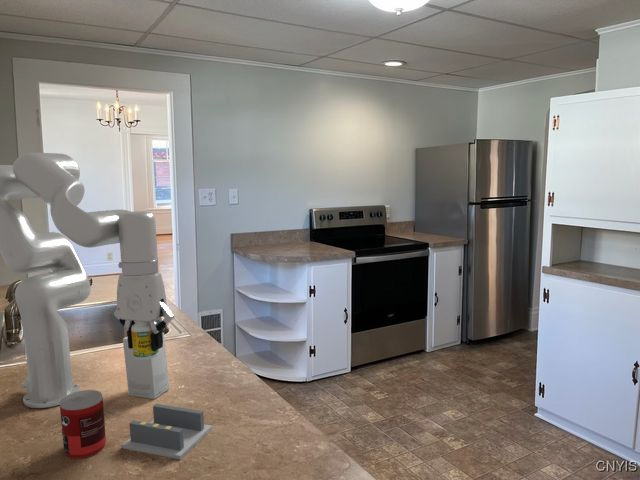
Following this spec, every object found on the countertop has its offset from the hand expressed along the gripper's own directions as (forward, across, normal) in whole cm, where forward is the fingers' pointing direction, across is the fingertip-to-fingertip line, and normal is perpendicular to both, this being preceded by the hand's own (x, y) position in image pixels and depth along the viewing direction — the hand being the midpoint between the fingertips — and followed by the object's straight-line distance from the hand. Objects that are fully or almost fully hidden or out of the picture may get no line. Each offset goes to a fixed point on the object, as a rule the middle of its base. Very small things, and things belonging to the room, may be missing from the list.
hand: (145, 347), depth 108 cm
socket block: (+18, +8, -5) cm, 20 cm away
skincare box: (+18, -10, +12) cm, 23 cm away
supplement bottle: (+2, 0, 0) cm, 2 cm away
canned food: (+18, -6, -13) cm, 23 cm away
